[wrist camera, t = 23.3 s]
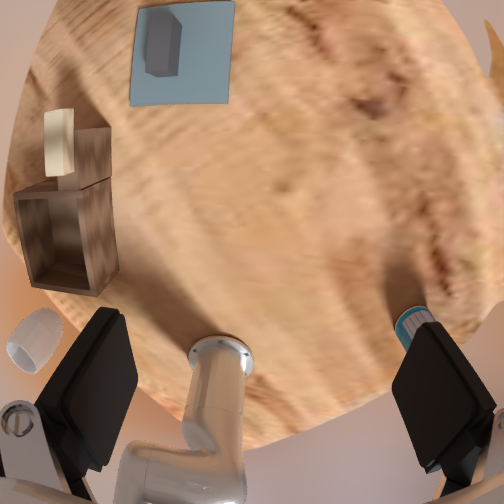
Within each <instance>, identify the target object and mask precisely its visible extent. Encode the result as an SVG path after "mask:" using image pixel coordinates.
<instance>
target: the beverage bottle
mask: <svg viewBox="0 0 504 504" xmlns="http://www.w3.org/2000/svg"><path fill="white" fill-rule="evenodd" d="M424 322H437V321H436V319H435V318H434V317H433V316H432V314H431V312H430V311H429V310H428V309H427V308H426V307H424V306H414V307H411V308H409V309H408V310H406V311H405V312H404V313H403V314H402V315H401V316H400V317H399V319H398V320H397V323H396V326H395V332H396V335H397V337H398V338H399V340H400V342H401V343H402V345H403V347H404V349H405V351H406V352H407V351H408V349H409V346H410V344H411V342H412V339H413V337H414V335H415V332H416V330H417V328H418V327H420V326H421V325H422V324H423V323H424Z"/></svg>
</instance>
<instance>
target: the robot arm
mask: <svg viewBox="0 0 504 504" xmlns="http://www.w3.org/2000/svg"><path fill="white" fill-rule="evenodd" d="M188 360H189V364H190V367H191V368H192V370H193V375H192V379H191V384H190V388H189V393H188V397H187V402H186V406H185V411H184V415H183V420H182V433H183V437H184V439H185V441H186V443H187V445H188V447H189V448H190V450H184V449H179V448H174V447H169V446H166V445H161V444H157V443H153V442H148V441H142V440H135V441H132V442H130V443H129V444H128V445H127V446H126V447H125V449H124V451H123V454H122V456H121V460H120V465H119V469H118V475H117V481H116V487H115V493H114V500H113V504H148V503H152V504H244V502H245V500H246V497H247V479H246V473H245V468H244V462H243V415H244V391H245V378H246V377H248V376H249V374H250V373H251V372H252V370H253V366H254V358H253V355H252V352H251V351H250V349H249V348H248V347H247V346H246V345H245V344H244V343H242V342H240V341H239V340H236V339H234V338H231V337H227V336H220V335H218V336H208V337H205V338H202V339H200V340H198V341H197V342H196V343H195V344H194V345H193V346H192V347H191V349H190V352H189V357H188ZM137 383H138V373H137V369H136V365H135V361H134V357H133V353H132V349H131V345H130V340H129V336H128V331H127V327H126V322H125V317H124V315H123V314H120V312H119V310H118V309H114V308H107V307H100V308H99V309H98V310H97V311H96V312H95V314H94V315H93V317H92V318H91V319H90V321H89V322H88V323H87V325H86V326H85V328H84V329H83V330H82V332H81V333H80V335H79V336H78V337H77V339H76V340H75V342H74V343H73V345H72V346H71V348H70V349H69V351H68V352H67V354H66V355H65V357H64V358H63V360H62V361H61V362H60V364H59V366H58V367H57V369H56V370H55V372H54V373H53V375H52V376H51V378H50V380H49V381H48V383H47V384H46V386H45V387H44V389H43V391H42V392H41V394H40V395H39V397H38V399H37V400H36V402H35V404H34V405H33V404H31V403H30V402H28V401H23V400H17V401H13V402H11V403H9V404H7V405H6V406H4V407H3V409H2V410H1V411H0V504H97V502H96V500H95V498H94V496H93V493H92V491H91V489H90V487H89V485H88V483H87V481H86V479H85V475H86V472H87V470H88V469H91V470H94V471H97V472H101V470H102V466H103V465H104V466H106V465H107V464H108V463H109V461H110V458H111V455H112V452H113V449H114V446H115V443H116V440H117V437H118V435H119V432H120V429H121V426H122V424H123V421H124V418H125V416H126V413H127V410H128V407H129V405H130V402H131V399H132V397H133V394H134V392H135V389H136V387H137ZM392 393H393V395H394V398H395V400H396V403H397V405H398V408H399V410H400V413H401V415H402V418H403V420H404V423H405V425H406V428H407V431H408V433H409V436H410V439H411V441H412V444H413V447H414V449H415V452H416V455H417V458H418V461H419V464H420V466H421V467H423V468H424V469H425V471H426V474H428V473H432V472H435V471H438V470H440V469H441V468H442V471H443V475H442V477H441V480H440V482H439V485H438V488H437V490H436V492H435V495H434V497H433V499H432V501H430V502H427V503H424V504H504V408H502V409H500V410H498V411H497V413H496V414H495V415H494V413H493V410H494V409H495V407H496V406H497V405H496V403H495V402H494V400H493V398H492V397H491V395H490V393H489V392H488V391H487V389H486V387H485V385H484V384H483V382H482V381H481V379H480V378H479V377H478V375H477V373H476V372H475V370H474V369H473V367H472V366H471V364H470V363H469V362H468V360H467V359H466V357H465V356H464V354H463V353H462V352H461V350H460V349H459V347H458V346H457V345H456V343H455V342H454V341H453V339H452V338H451V336H450V335H449V334H448V332H447V331H446V330H445V328H444V327H443V326H442V324H441V323H440V322H424V323H423V324H422V325H421V326H420V327H418V328H417V330H416V332H415V335H414V337H413V339H412V342H411V344H410V346H409V349H408V351H407V353H406V355H405V358H404V360H403V362H402V364H401V366H400V368H399V370H398V373H397V375H396V377H395V379H394V381H393V383H392ZM147 502H148V503H147Z"/></svg>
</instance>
